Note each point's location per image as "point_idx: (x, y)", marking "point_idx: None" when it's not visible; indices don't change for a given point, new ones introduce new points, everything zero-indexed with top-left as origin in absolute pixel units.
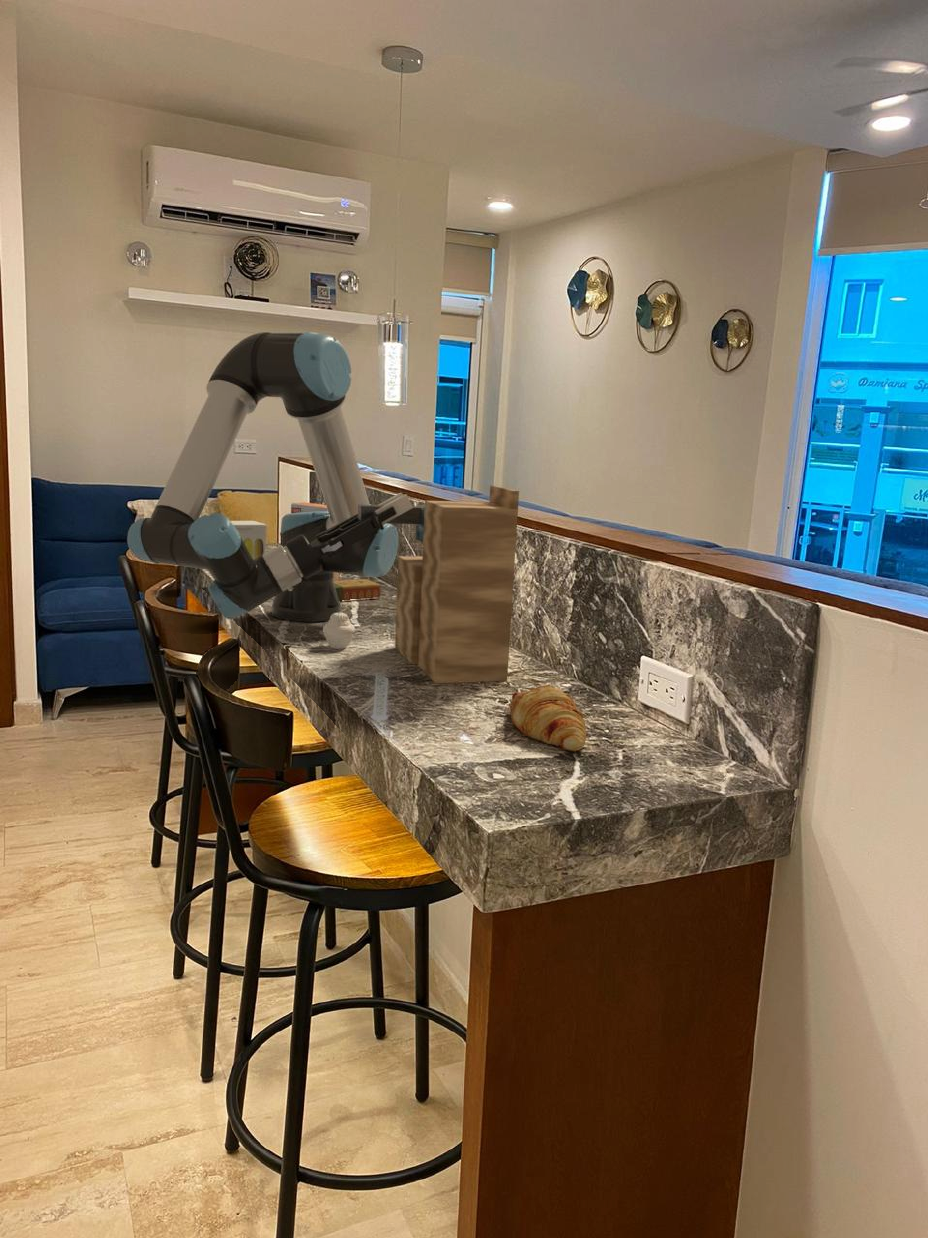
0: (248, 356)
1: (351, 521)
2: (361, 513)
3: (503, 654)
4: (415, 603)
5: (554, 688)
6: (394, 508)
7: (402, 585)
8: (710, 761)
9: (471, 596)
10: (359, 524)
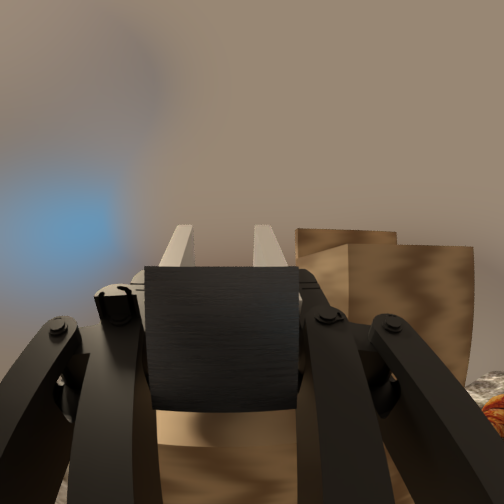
0: None
1: (134, 440)
2: (297, 334)
3: None
4: None
5: (499, 396)
6: None
7: (190, 498)
8: (483, 382)
9: None
10: (451, 389)
